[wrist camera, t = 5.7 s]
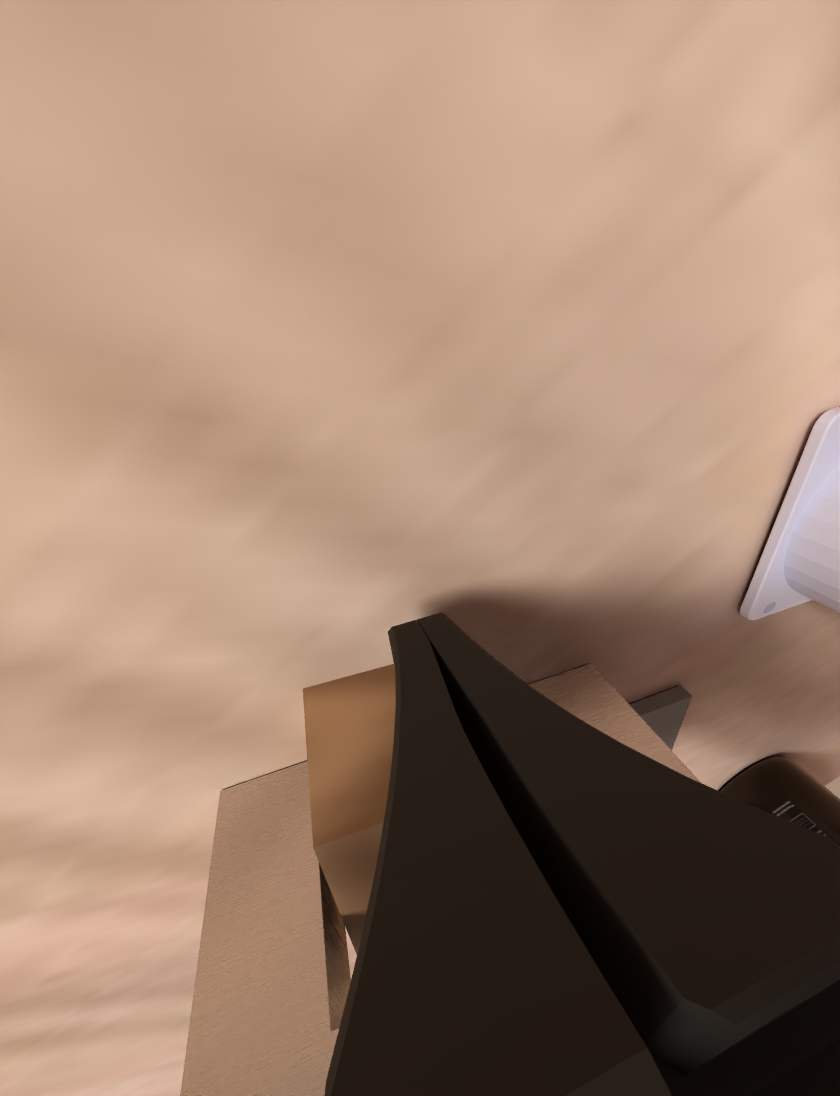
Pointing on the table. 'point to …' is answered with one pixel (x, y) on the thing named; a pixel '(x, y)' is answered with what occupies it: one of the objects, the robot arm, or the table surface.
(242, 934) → the housing
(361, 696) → the wooden block
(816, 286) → the table surface
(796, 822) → the supplement bottle
